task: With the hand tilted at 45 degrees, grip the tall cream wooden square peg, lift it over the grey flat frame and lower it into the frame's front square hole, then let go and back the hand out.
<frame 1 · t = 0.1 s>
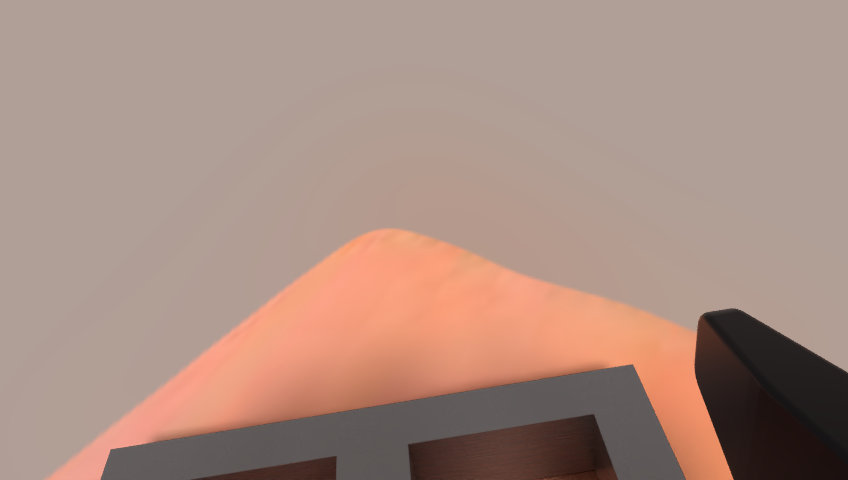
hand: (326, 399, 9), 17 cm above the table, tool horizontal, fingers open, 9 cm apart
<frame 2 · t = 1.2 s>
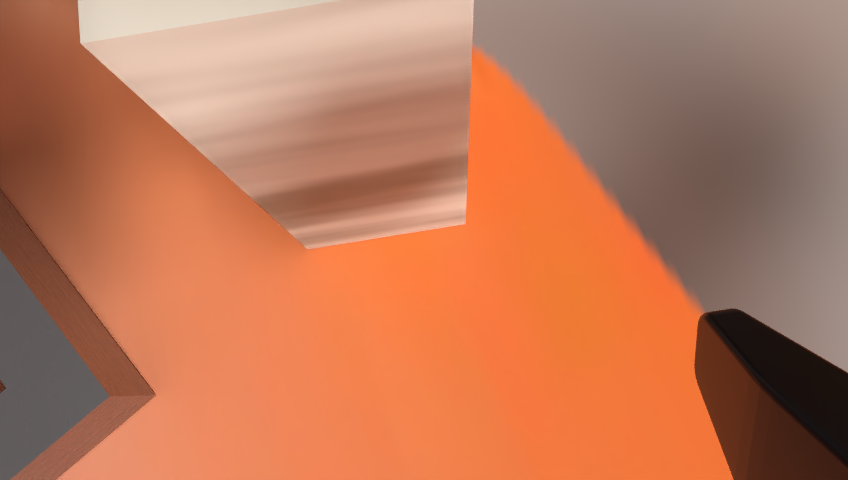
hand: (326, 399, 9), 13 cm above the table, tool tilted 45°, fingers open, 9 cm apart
square peg: (375, 160, 23), on the table
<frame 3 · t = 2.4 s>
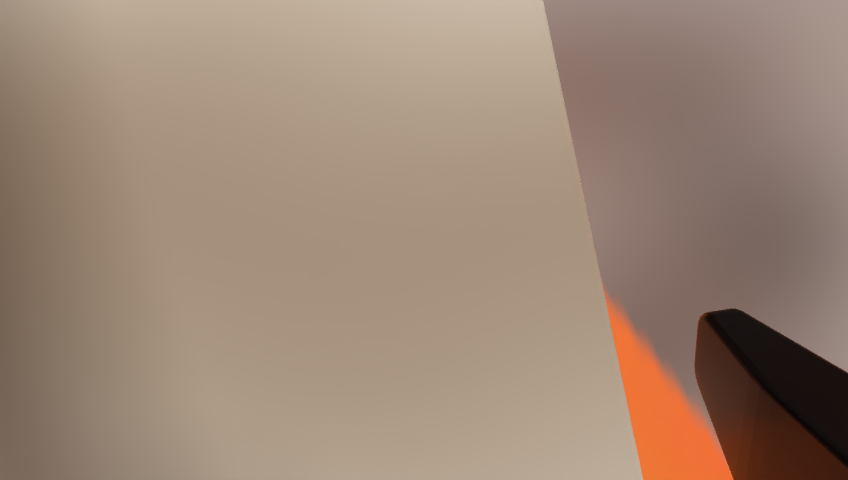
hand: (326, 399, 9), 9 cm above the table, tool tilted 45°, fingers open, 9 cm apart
square peg: (389, 356, 18), on the table
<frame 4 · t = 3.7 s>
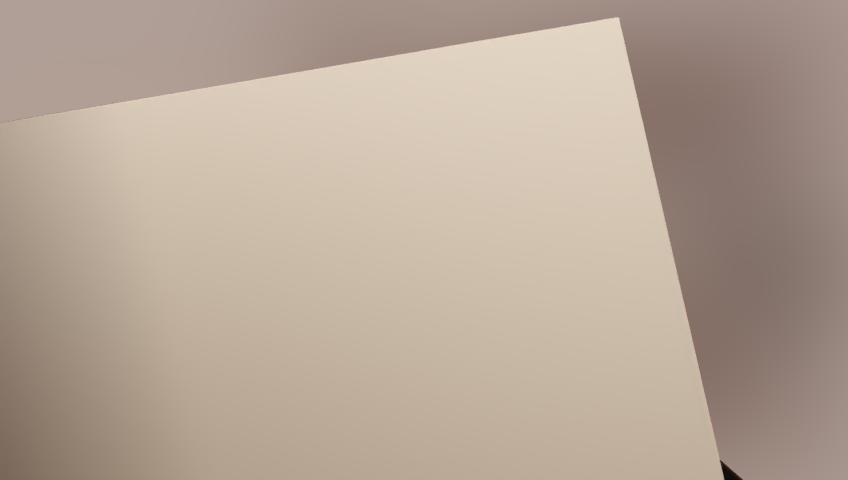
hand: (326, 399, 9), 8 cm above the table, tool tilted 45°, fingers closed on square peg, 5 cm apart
square peg: (396, 459, 16), on the table, touching gripper
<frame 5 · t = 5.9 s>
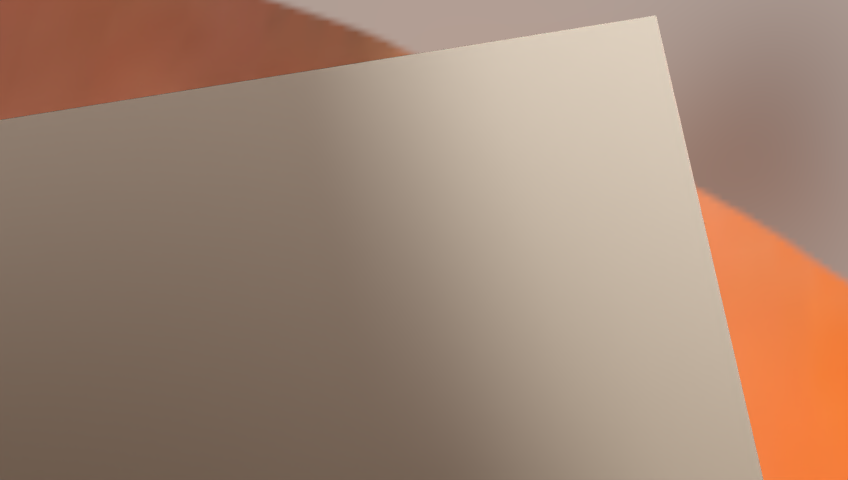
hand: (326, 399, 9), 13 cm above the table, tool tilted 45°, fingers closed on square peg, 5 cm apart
square peg: (398, 456, 16), point 6 cm above the table, touching gripper
when the fingers open (8 cm above the table, at t = 8.0 s): square peg stays where it is, resting in grey flat frame.
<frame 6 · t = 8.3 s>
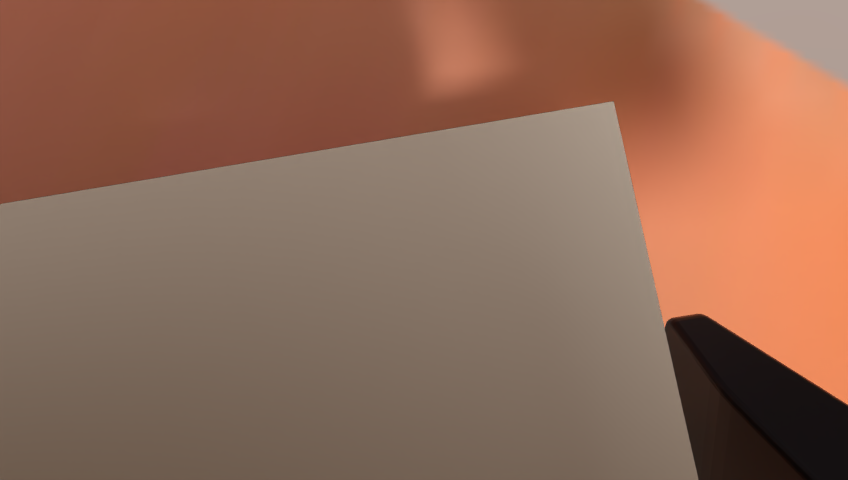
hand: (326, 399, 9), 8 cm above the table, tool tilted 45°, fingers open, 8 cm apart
square peg: (399, 455, 17), resting in grey flat frame
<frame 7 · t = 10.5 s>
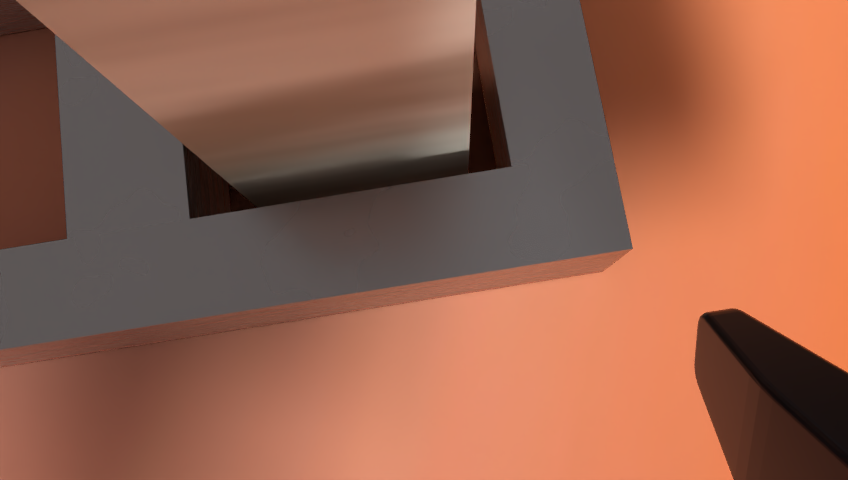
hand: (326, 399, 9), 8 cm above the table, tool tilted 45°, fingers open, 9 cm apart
square peg: (351, 99, 18), resting in grey flat frame
grey flat frame: (171, 127, 18), on the table
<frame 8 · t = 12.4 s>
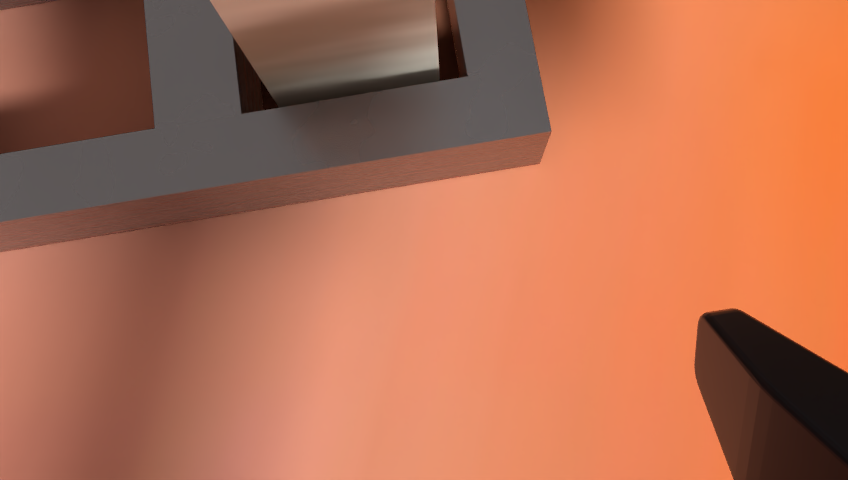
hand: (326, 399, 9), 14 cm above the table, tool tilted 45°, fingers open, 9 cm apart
square peg: (354, 41, 24), resting in grey flat frame
grey flat frame: (220, 61, 24), on the table
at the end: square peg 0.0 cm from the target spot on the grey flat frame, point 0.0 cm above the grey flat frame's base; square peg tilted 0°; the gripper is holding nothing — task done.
